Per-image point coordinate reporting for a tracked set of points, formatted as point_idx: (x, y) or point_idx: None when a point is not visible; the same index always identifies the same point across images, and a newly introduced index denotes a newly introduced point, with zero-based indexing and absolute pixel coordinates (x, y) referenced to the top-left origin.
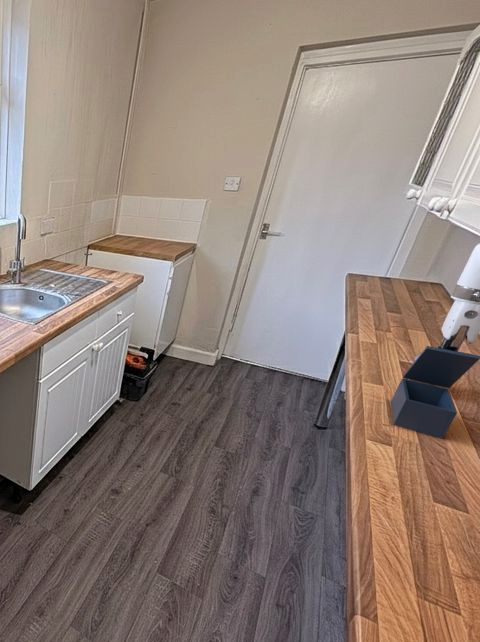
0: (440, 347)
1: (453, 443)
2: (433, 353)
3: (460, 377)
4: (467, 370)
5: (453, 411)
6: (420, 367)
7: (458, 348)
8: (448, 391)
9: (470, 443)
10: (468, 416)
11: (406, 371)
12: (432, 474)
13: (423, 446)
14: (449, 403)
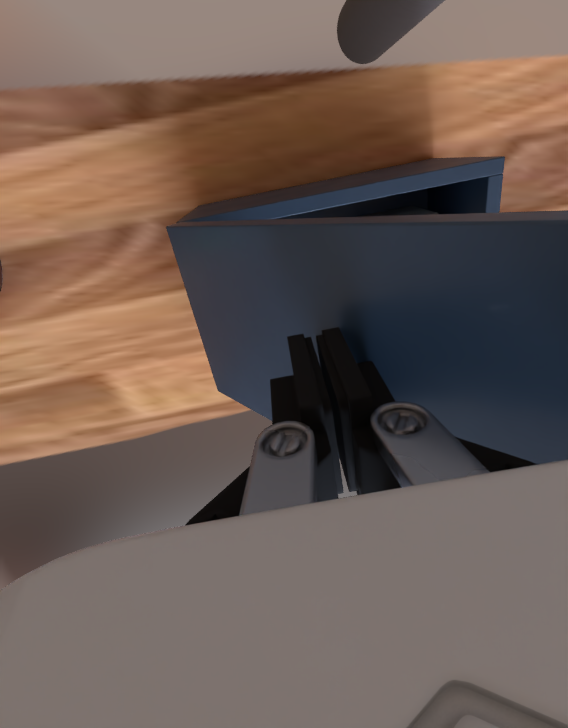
0: (338, 493)
1: (450, 122)
2: None
3: (274, 220)
4: (367, 218)
5: (500, 172)
6: None
7: (449, 431)
8: (222, 219)
9: (404, 68)
10: (103, 95)
11: (244, 404)
12: None
13: (542, 200)
14: (381, 196)
